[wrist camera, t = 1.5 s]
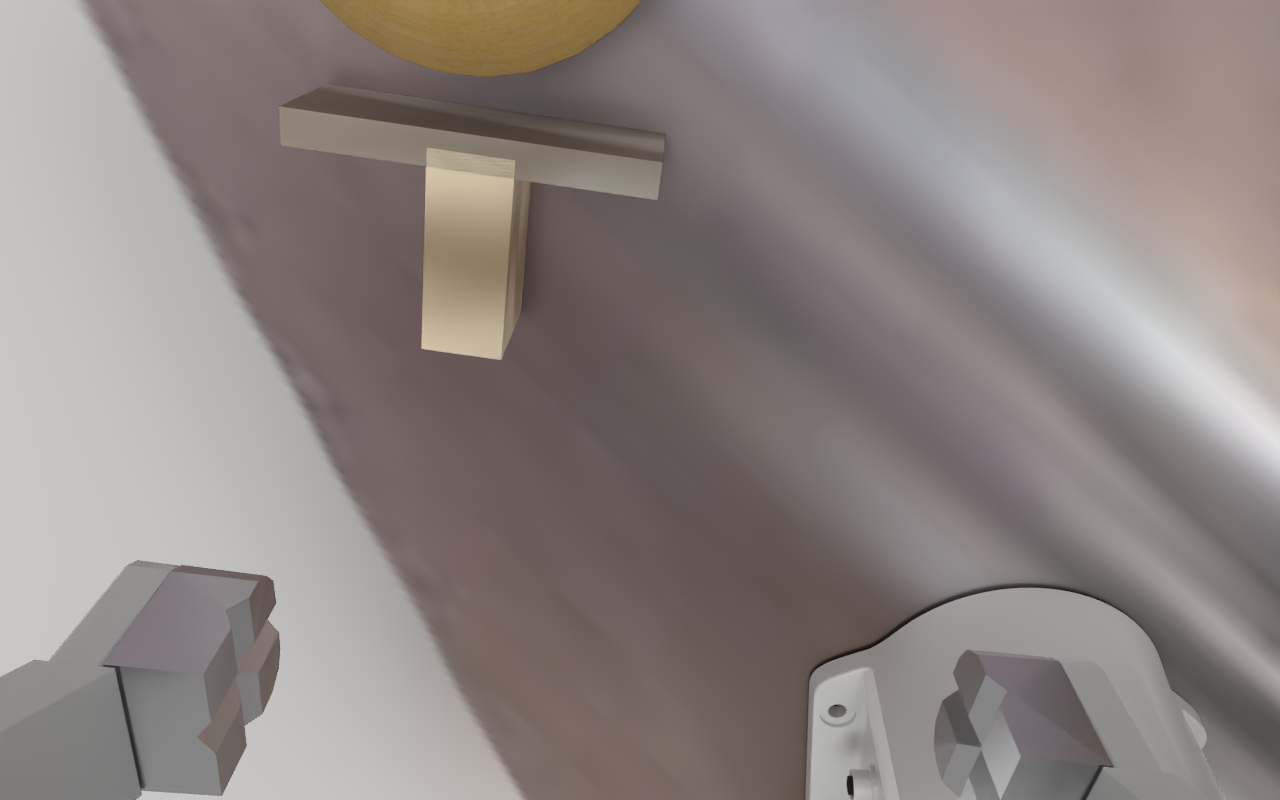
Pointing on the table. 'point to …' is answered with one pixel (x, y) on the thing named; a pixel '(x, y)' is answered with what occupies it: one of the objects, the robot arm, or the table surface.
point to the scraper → (474, 190)
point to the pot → (482, 30)
